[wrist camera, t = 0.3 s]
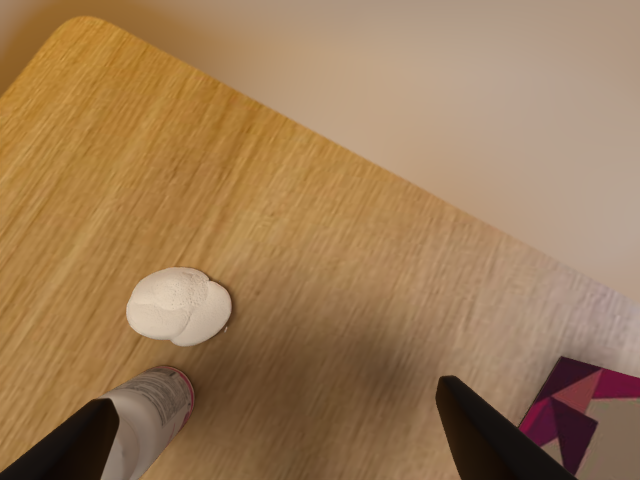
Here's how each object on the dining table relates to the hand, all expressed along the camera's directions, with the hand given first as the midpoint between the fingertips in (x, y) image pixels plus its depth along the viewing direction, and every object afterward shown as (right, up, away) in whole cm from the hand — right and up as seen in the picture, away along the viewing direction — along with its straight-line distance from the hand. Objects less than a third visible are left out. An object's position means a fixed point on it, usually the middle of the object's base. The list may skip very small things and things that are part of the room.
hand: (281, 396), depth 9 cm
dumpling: (-8, 0, +15) cm, 17 cm away
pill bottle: (-10, -7, +14) cm, 19 cm away
